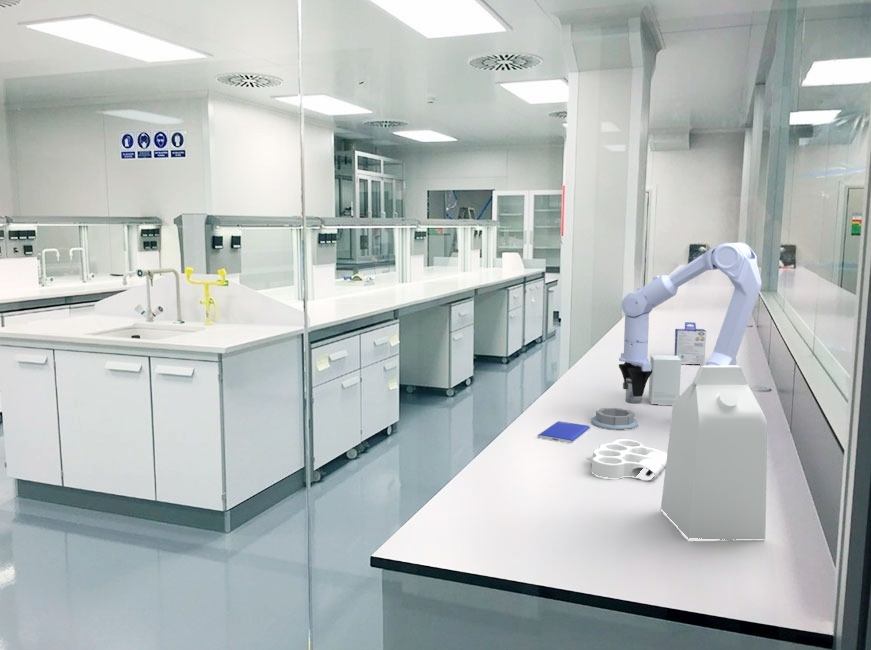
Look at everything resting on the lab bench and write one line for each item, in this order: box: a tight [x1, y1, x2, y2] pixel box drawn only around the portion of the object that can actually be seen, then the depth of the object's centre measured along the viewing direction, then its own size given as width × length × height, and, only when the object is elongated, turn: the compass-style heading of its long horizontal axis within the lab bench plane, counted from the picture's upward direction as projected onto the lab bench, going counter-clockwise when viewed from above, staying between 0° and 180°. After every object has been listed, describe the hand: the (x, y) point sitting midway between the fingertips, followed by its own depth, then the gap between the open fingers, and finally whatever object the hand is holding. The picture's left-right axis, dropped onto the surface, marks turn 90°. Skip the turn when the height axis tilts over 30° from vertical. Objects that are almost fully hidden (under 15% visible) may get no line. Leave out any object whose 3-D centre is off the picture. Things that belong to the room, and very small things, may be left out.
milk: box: [660, 364, 768, 540], centre depth 110 cm, size 12×12×26 cm
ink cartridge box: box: [673, 321, 707, 366], centre depth 245 cm, size 10×6×14 cm, turn 81°
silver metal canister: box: [622, 377, 643, 405], centre depth 175 cm, size 4×5×6 cm
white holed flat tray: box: [585, 438, 667, 481], centre depth 139 cm, size 3×18×15 cm
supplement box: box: [647, 354, 682, 407], centre depth 190 cm, size 7×7×13 cm
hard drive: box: [537, 420, 591, 444], centre depth 161 cm, size 2×8×12 cm
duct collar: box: [591, 407, 639, 431], centre depth 170 cm, size 11×11×3 cm
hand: (634, 394), depth 176 cm, fingers closed on silver metal canister, 4 cm apart
